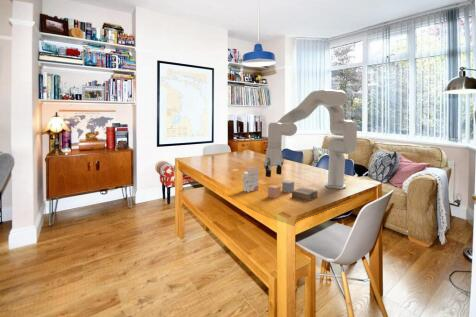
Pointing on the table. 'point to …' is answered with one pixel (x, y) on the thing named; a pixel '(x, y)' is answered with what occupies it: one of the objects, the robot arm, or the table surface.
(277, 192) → the terracotta block
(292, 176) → the table surface
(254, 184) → the ink cartridge box
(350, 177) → the table surface
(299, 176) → the table surface
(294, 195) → the walnut block
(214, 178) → the table surface
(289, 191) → the slate grey block
